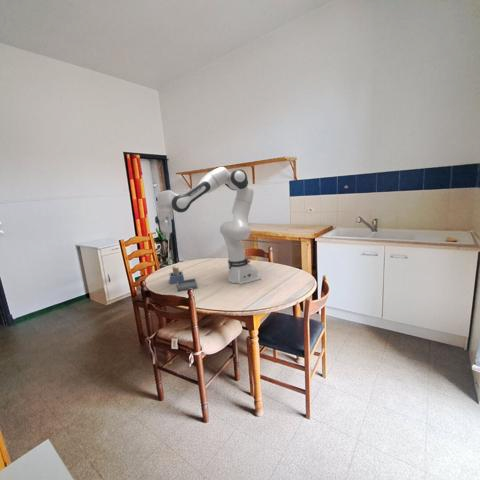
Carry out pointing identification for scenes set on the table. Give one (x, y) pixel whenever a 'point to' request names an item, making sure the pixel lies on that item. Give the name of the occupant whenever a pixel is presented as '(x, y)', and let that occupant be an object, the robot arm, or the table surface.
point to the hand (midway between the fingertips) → (166, 238)
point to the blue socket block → (176, 277)
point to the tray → (187, 284)
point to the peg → (175, 271)
